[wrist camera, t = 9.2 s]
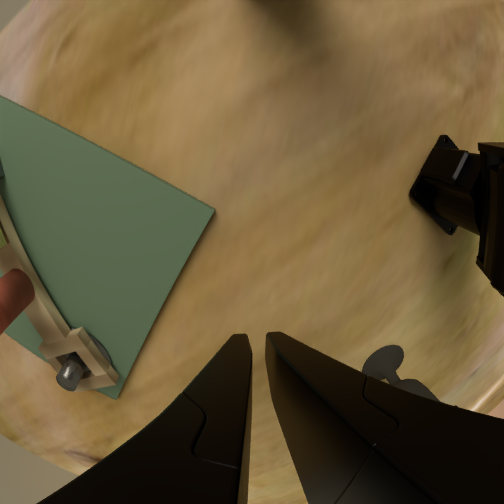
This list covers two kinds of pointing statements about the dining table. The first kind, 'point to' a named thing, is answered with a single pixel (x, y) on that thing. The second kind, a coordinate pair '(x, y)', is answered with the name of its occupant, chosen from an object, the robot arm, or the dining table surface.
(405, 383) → the sundae
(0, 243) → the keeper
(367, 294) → the dining table surface
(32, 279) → the latch bar
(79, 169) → the latch board
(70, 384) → the pintle
